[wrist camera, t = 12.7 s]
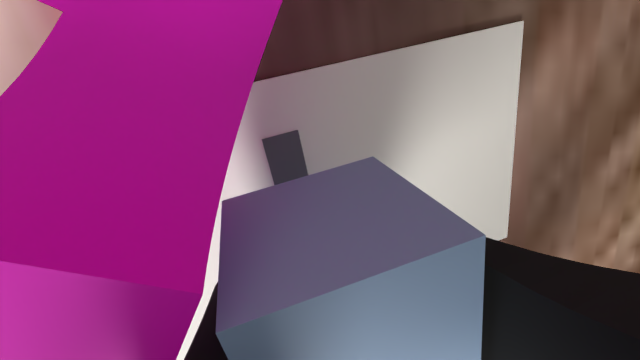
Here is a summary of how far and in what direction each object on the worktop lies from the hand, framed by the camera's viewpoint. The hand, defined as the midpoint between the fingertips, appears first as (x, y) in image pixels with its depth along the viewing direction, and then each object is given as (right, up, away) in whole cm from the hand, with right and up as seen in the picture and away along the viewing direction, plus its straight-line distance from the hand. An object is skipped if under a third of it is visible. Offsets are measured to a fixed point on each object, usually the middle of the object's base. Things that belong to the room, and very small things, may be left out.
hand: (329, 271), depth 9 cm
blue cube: (0, +1, +1) cm, 2 cm away
